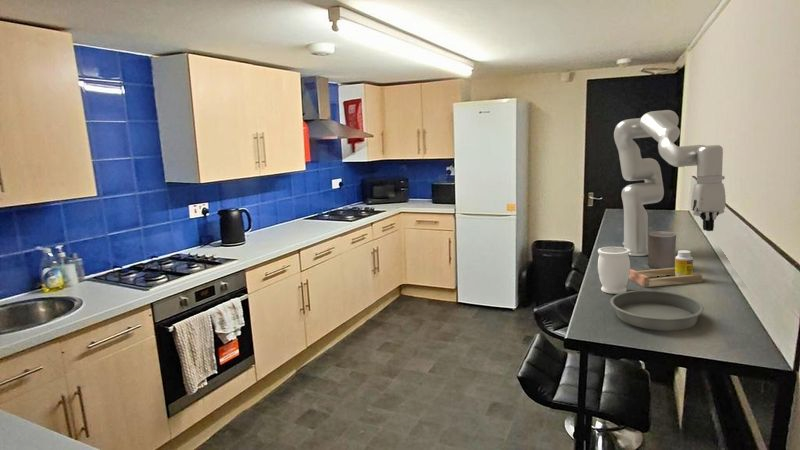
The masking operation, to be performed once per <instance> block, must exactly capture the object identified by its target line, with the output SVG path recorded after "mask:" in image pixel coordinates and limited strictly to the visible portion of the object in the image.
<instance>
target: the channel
mask: <svg viewBox="0 0 800 450" xmlns="http://www.w3.org/2000/svg"><path fill="white" fill-rule="evenodd" d="M666 275H670V276H666ZM657 276H659V277H657ZM628 280H631V281H633V282H634V283H636V284H638V285H640V286H642V287H643V288H652V287H661V286H670V285H671V286H673V285H682V284H693V283H694V284H695V283H703V274H699V273H698V274H697V273H696V274H692V275H684V276H675V267H674V268H664V269H654V268H652V269H645V270H634V269H633V268H630V273H629V278H628Z"/></svg>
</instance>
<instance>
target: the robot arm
mask: <svg viewBox="0 0 800 450" xmlns="http://www.w3.org/2000/svg"><path fill="white" fill-rule="evenodd" d="M679 120H680V119H679V116H678V114H677V113H676V112H675V111H673V110H671V109H663V110H655V111H653V110H651V111H649V112H646V113H644V114H643V115H642V116H641V117H639V118H636V117H635V118H629V119H624V120H621V121H620V122H618V123H617V124H616V125H615V128H614V131H613V139H614V142H615V145H616V149H617V151H618V157H619V163H620V170H621V175H622V178H623V179H624V181H626V182H627V181H628V182H634V181H635V182H636V181H644V182H638V183H632V184H631V183H629V184H628V185H626V186H625V187H623V188H622V190H621V194H620V195H621V200H622V205H623V241H622V243H621V244H622V245H623V248H627V249H629V250H630V254H628V256H631V257H645V256H646V257H647V256H648V238H649V233H648V232H649V231H648V226H649V225H648V223H649V220H648V212H647V210H646V209H645V207H644V205H649V204H656V203H657V204H658V203H659V202H661V201H662V200H663V198H664V195H665V190H664V189H665V188H664V181H663V177H662V176H663V175H662V170H661V166H660V163H659V161H657V160H656V159H654V158H651V157H647V158H642V154H641V149H640V147H639V145H638V143H636V141H634V139H641V138H653V139H654V140H655V141H656V142H657V143H658V144H657V149H658V154H659V156H660V157H661V158H662V159H663V160H664V161H665V162H666V163H668V165H671V166H672V167H676V168H683V167H695V166H696V168H697V169H696V184H694V186H693V190H692V192H691V193H692V195H691V201H690V203H691V204H690V208H691V211H692V212H693V213H692V215H693V216H697V217H700V218H701V220H702V230H704V231H706V232H714V228H715V220H717V217H718V216H719V215H722V214H724V213H725V209H726V205H727V204H726V200H727V199H726V198H727V197H726V190H725V189H726V188H725V184H724V183H723V180H726V179H725V178H726V176H725V175H723V162H724V161H723V157H724V156H723V155H724V151H723V150H724V148H723V146H721V145H719V144H718V145H717V144H714V145H713V144H711V145H710V144H709V145H705V144H694V145H683V146H678V145H676V144H675V142H676V141H677V140H678V138H679V137H680V134H681V131H680V128H679V127H678V125H679V122H680V121H679Z"/></svg>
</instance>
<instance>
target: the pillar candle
mask: <svg viewBox="0 0 800 450" xmlns="http://www.w3.org/2000/svg"><path fill="white" fill-rule="evenodd" d="M676 241H677V233H675V232H673V231H672V232H671V231H664V230H661V231H660V230H659V231H650V232H649V233H648V245H647V249H648V255H647V257H648V259H647V260H648V263H647V267H648V266H649V267H648V268H651V269H654V268H655V269H664V268H674V267H675V257H676V251H677V250H676V246H677V245H676Z"/></svg>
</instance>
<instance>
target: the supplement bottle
mask: <svg viewBox="0 0 800 450" xmlns="http://www.w3.org/2000/svg"><path fill="white" fill-rule="evenodd" d="M691 253H692V252H691V251H690V250H683V249H682V250H681V249H680V250H678V251H677V255H675V275H674V276H684V275H693V272H694V269H693V268H694V258H693V256H691Z"/></svg>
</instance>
